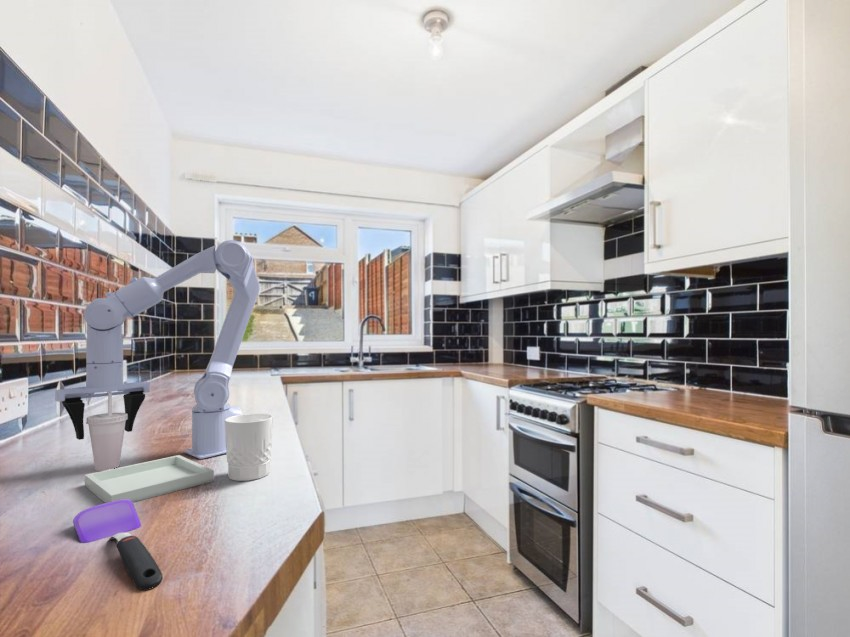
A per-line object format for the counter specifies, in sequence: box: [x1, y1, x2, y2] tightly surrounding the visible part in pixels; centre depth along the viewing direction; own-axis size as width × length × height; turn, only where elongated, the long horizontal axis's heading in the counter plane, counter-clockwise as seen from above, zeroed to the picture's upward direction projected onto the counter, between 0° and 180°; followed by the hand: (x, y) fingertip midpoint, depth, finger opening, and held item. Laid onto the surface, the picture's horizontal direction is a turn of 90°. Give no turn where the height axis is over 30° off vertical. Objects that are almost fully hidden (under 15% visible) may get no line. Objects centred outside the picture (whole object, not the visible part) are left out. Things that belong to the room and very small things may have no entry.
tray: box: [84, 454, 215, 503], centre depth 75 cm, size 15×15×2 cm
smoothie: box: [85, 391, 128, 472], centre depth 84 cm, size 6×6×14 cm
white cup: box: [225, 413, 274, 482], centre depth 79 cm, size 8×8×10 cm
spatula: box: [72, 499, 163, 590], centre depth 53 cm, size 24×7×2 cm, turn 45°
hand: (105, 434), depth 85 cm, fingers open, 7 cm apart
